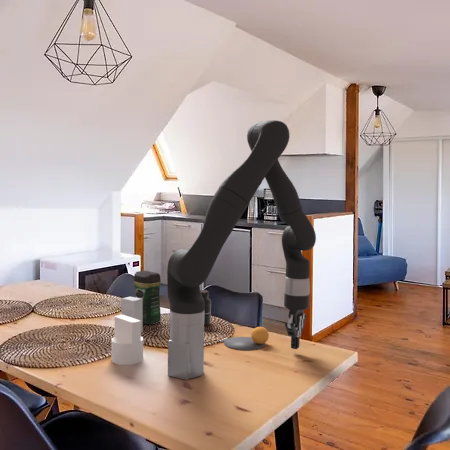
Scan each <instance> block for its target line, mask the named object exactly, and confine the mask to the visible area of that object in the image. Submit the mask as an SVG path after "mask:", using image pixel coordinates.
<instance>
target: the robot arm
mask: <svg viewBox="0 0 450 450" xmlns="http://www.w3.org/2000/svg"><path fill="white" fill-rule="evenodd" d="M246 140H247V144H248V146H249V148H250V151H251V152H250V154H248V157H247V158H246V159H245V160H244V161H243V163H241V165H239V166H238V167H237V168H236V169H234V170H233V172H231V173H230V174H229V175H228V176H227V177H226V178H225V179H224V180H223V181H222V183H221V184H220V185H219V187H218V189H217V190H216V191H215V193H214V194H213V196H212V198H211V200H210V201H209V204H208V207H207V209H206V213H205V218H204V222H203V226H202V229H201V231H200V233H199V235H198V236H197V238H196V239H195V241H194V243H192V245H191V247H190V248H189V249H188V248H180V249H178V250H175V251H174V252H173V253H172V254H171V256H170V257H169V259H168V261H167V269H166V271H167V272H166V273H167V274H166V276H167V277H166V280H167V283H166V284H167V298H168V302H169V340H168V342H167V376H169V377H173V378H178V379H182V380H186V381H188V380H190V379H194V378H198V377H200V376H202V375H203V374H204V372H205V371H204V369H205V368H204V367H205V366H204V365H205V361H204V360H205V342H204V332H205V326H204V311H205V301H204V299H203V297H202V294H201V291H200V290H201V287H200V286H201V285H202V284H203V283H204V282H205V281H206V280H207V279H208V277H209V275H210V273H211V272H212V269H213V267H214V265H215V263H216V261H217V259H218V257H219V254H220V252H221V250H222V248H223V246H224V245H225V243H227V240H228V238H229V237H230V235H231V234H232V232H233V231H234V228H235V227H236V225H237V224H238V222H239V220H241V218H242V216H243V215H244V212H245V211H246V209H247V208H248V206H249V205H250V202H251V201H252V198H254V195H255V194H256V192H257V190H259V188H260V186H261V184H262V183H263V181H264V179H265V180H266V183H267V185H268V188H269V190H270V192H271V195H272V197H273V201H274V204H275V208H276V210H277V214H278V216H279V218H280V221H282V222H283V223H284V224H286V225H288V226H286V227H285V228H284V229H283V232H282V235H281V247H282V251H283V255H284V256H283V257H284V259H285V279H284V280H285V281H284V292H283V293H284V294H283V295H284V296H283V298H284V299H283V306H284V308H285V309H287V310H288V311H289V312H288V314H287V320H288V321H285V323H284V326H285V329H286V333H287V336H289V337H290V347H291V349H293V350H298V349H299V348H300V343H301V342H300V338H301V336H302V333H303V332H304V328H305V323H306V319H307V314H306V313H304V311H306V310H308V309H309V308H310V295H311V294H310V292H311V287H310V285H311V284H310V283H311V282H310V268H311V267H310V260H309V259H308V258H307V257H305V256H304V255H303V252H302V251H305V252H306V251H309V250H312V249H313V248H314V247H315V245H316V242H317V235H316V231H315V228H314V227H313V225H312V223H311V222H310V220H309V218H308V216H307V215H306V213H305V211H304V210H303V208H302V207H303V206H302V204H301V201H300V197H299V194H298V192H297V189H296V187H295V186H294V184H293V181H292V180H291V179H290V178H289V176H288V175H287V174H286V172H285V171H284V169H283V167H282V166H281V163H280V161H279V158H281V155H283V153H284V152H285V150H286V149H287V147H288V145H289V141H290V130H289V127H288V125H287V124H285V123H284V122H283V121H280V120H273V119H271V120H262V121H257V122H254V123H253V124H252V125H251V126H250V127H249V128H248V131H247V134H246Z"/></svg>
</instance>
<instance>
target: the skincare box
mask: <svg viewBox="0 0 450 450" xmlns="http://www.w3.org/2000/svg"><path fill="white" fill-rule="evenodd" d="M121 315H126V316H129V317H132V318H135V319H138V320H141V332H144V331H143V328H144V327H143V325H144V324H143V299H141V298H135V296H127V297H122V298H121Z"/></svg>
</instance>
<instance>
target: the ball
mask: <svg viewBox="0 0 450 450" xmlns="http://www.w3.org/2000/svg"><path fill="white" fill-rule="evenodd" d="M250 335H251V336H250V337H252V340H253V341H254V342H255V343H256V344H264V343H265V344H266V342H268V340H269V338H270V337H269V336H270V334H269V332H268V329H266V328H265V327H263V326H257V327H255V328H253V330H252V331H251V334H250Z"/></svg>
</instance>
